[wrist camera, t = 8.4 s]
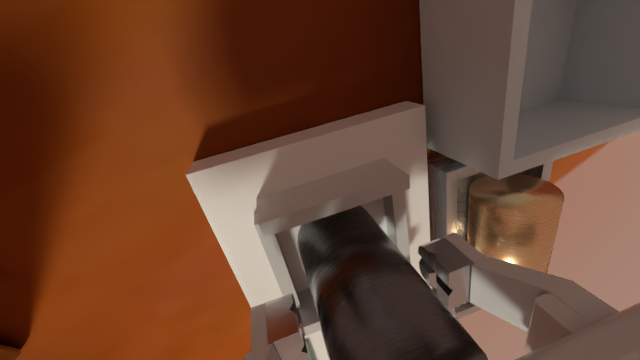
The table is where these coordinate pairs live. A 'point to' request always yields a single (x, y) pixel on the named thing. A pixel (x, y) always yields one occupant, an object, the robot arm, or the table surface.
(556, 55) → the grey square open box
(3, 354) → the multimeter
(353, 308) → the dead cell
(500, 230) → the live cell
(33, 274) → the table surface
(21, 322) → the table surface
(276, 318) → the robot arm
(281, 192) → the battery tester
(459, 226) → the trough
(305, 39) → the table surface
